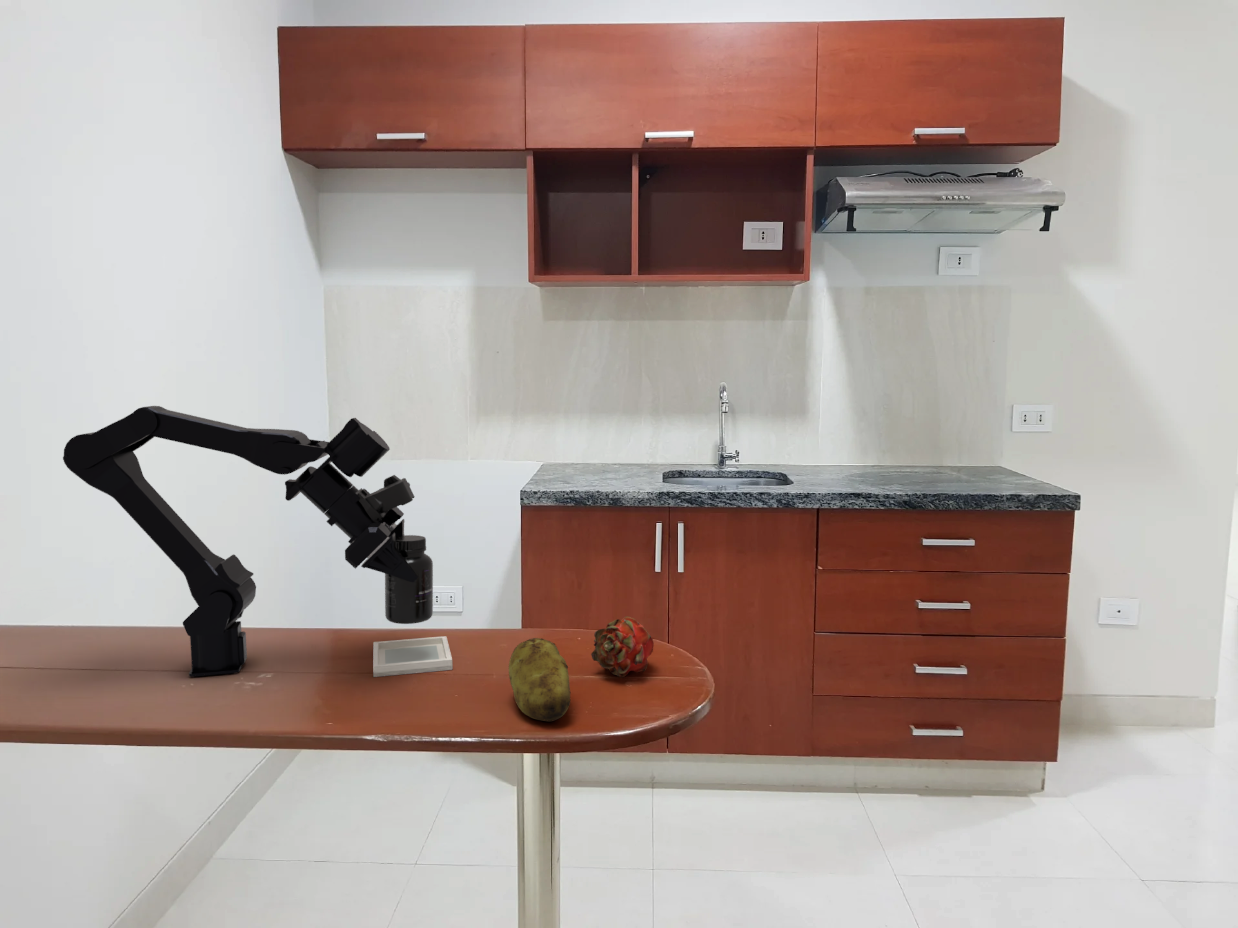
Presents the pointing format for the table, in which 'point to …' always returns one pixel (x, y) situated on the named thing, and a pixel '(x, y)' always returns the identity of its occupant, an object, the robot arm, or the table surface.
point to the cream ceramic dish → (411, 656)
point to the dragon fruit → (623, 646)
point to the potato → (540, 680)
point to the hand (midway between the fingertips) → (418, 573)
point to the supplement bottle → (410, 584)
